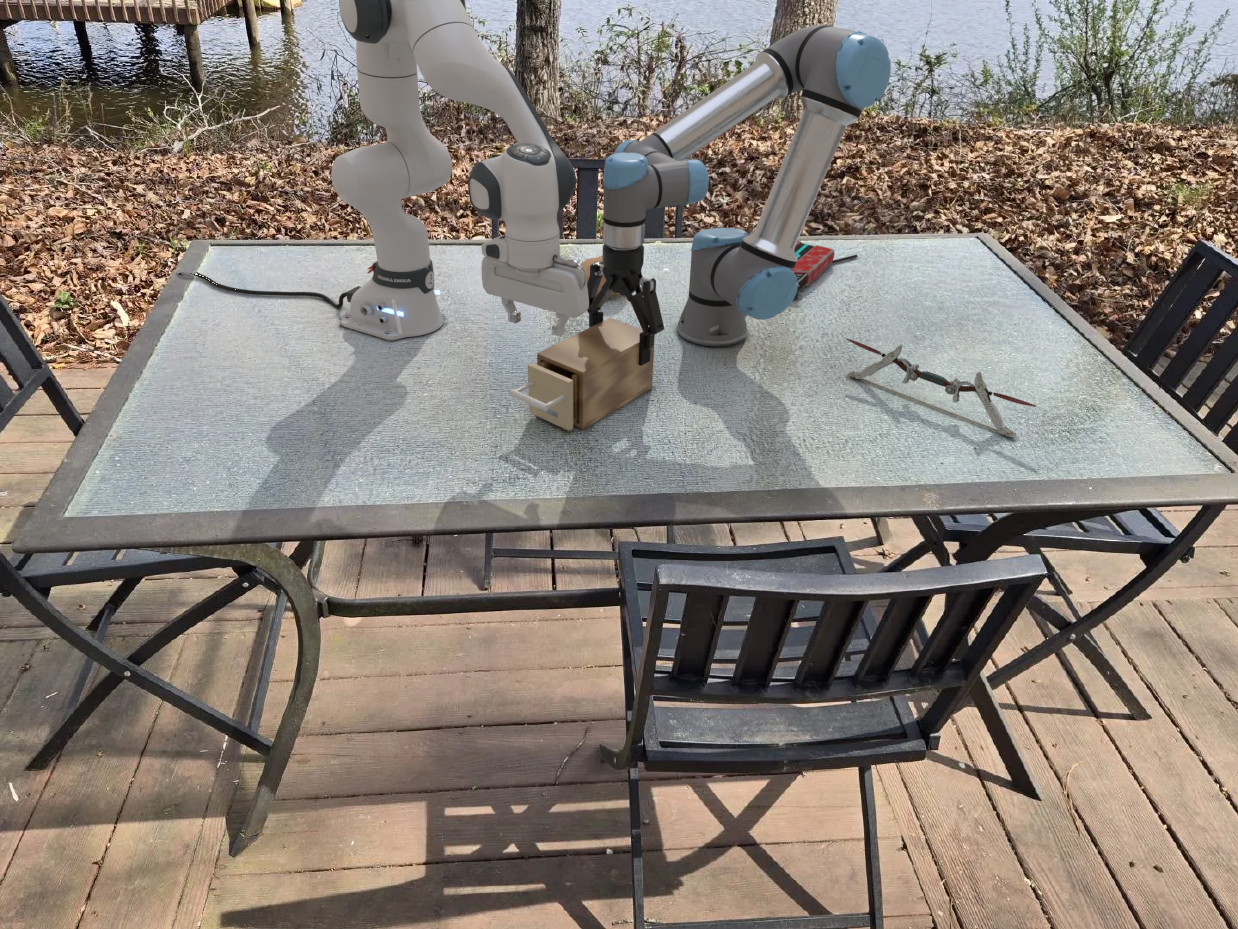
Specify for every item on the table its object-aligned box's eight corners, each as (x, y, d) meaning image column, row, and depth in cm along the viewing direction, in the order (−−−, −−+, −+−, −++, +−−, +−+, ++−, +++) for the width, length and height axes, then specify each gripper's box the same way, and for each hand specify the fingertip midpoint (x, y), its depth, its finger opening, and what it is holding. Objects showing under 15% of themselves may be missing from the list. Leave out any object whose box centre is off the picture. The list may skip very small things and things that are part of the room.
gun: (721, 268, 215) (795, 287, 208) (770, 231, 237) (839, 247, 230) (719, 285, 218) (792, 305, 210) (768, 247, 240) (836, 264, 232)
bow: (1027, 440, 160) (1043, 392, 155) (1023, 443, 159) (1039, 395, 154) (842, 370, 182) (850, 325, 176) (837, 372, 181) (846, 328, 175)
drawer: (548, 443, 154) (546, 394, 148) (508, 424, 159) (505, 375, 154) (636, 391, 170) (638, 344, 165) (597, 375, 176) (598, 329, 170)
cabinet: (582, 429, 160) (583, 372, 153) (538, 409, 166) (536, 353, 159) (652, 388, 174) (655, 333, 167) (608, 370, 179) (610, 317, 173)
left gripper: (596, 257, 141) (596, 335, 149) (497, 233, 150) (502, 308, 158) (574, 268, 137) (575, 349, 144) (473, 243, 146) (479, 320, 153)
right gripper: (688, 254, 154) (680, 365, 167) (587, 224, 166) (586, 329, 179) (663, 265, 149) (656, 379, 162) (561, 233, 162) (562, 341, 174)
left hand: (536, 328), depth 151 cm, fingers open, 8 cm apart
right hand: (620, 353), depth 170 cm, fingers closed on cabinet, 11 cm apart
